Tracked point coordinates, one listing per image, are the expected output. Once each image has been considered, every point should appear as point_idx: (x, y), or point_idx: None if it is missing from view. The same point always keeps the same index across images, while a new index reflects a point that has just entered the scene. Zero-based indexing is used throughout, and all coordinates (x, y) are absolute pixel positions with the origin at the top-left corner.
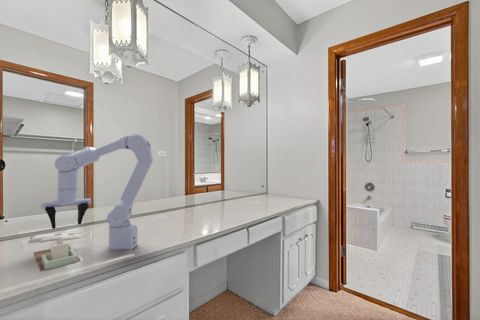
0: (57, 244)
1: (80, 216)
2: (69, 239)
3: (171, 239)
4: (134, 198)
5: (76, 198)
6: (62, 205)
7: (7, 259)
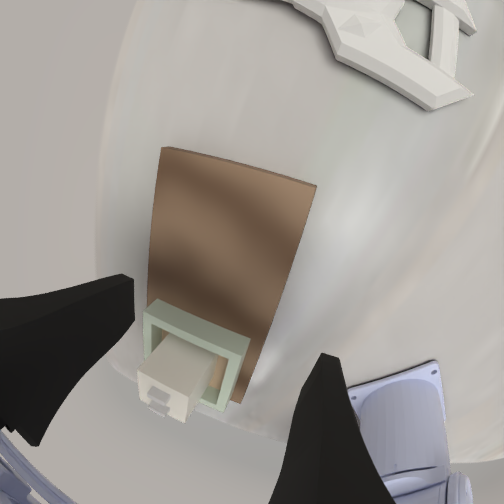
0: (153, 401)
1: (283, 467)
2: (376, 77)
3: (490, 439)
4: None
5: None
6: (40, 486)
7: (110, 117)
